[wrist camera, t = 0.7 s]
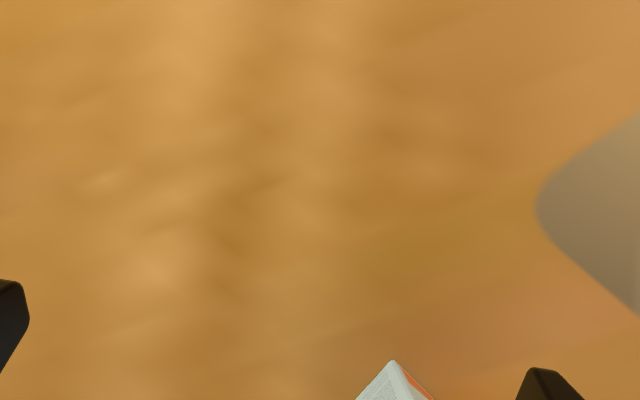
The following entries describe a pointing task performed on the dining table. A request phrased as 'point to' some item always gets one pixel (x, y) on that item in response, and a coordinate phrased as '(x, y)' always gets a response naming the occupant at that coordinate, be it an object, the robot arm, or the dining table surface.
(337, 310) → the dining table surface
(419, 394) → the skincare box
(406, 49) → the dining table surface
